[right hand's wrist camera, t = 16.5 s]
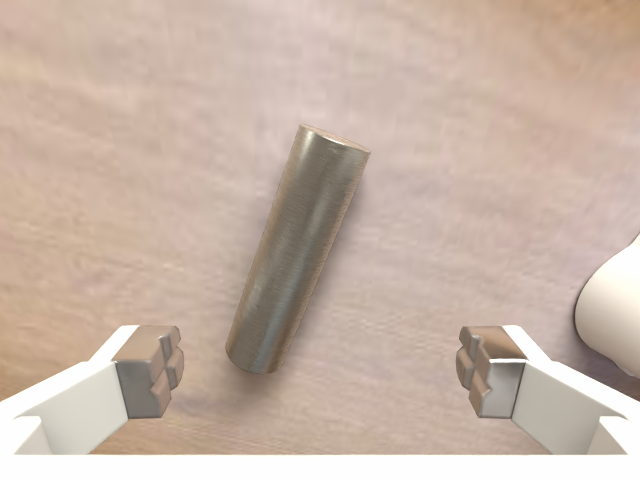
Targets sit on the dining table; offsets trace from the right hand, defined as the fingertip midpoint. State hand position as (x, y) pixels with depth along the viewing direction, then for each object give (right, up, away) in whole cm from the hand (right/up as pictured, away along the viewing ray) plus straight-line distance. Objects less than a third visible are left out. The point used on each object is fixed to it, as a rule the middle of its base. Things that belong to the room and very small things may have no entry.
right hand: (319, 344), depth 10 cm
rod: (-3, +3, +25) cm, 26 cm away
